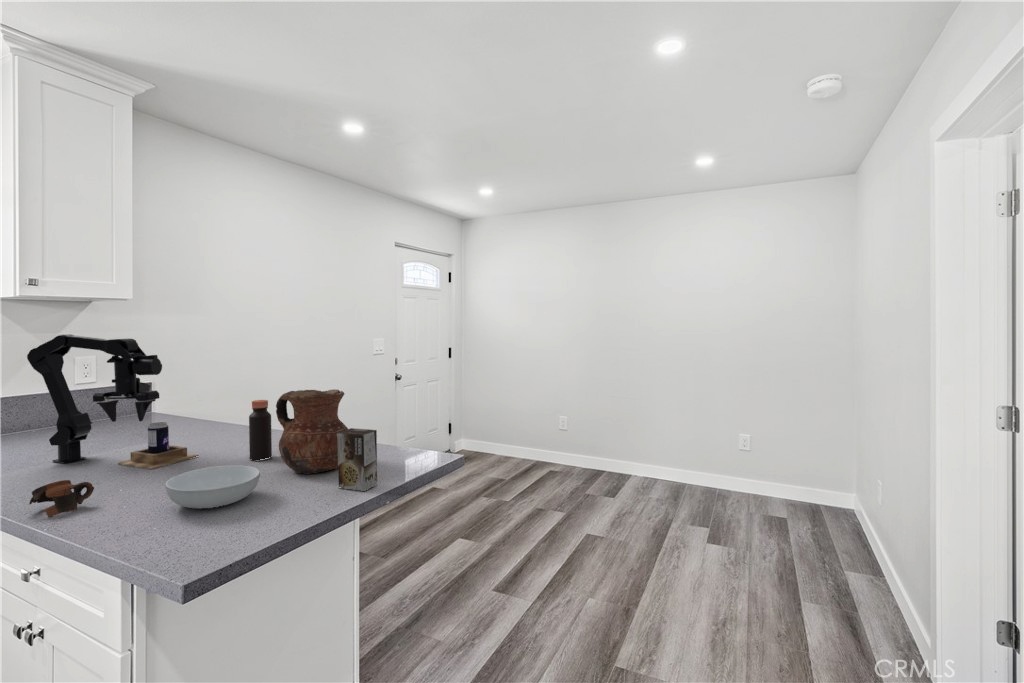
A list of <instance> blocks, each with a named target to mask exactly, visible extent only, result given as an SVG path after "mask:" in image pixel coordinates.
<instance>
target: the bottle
mask: <svg viewBox="0 0 1024 683" xmlns="http://www.w3.org/2000/svg"><path fill="white" fill-rule="evenodd" d="M268 407H269V400H268V399H257V400H256V399H255V400H251V410H252V412H251V413H250V414H249V416H248V428H249V429H248V433H249V437H248V439H249V442H248V444H249V460H250V459H252V460H260V459H265V458H269V457H271V456H272V454H273V451H272V450H273V449H272V448H273V447H272V446H273V445H272V443H273V442H272V413H270V411H268ZM272 457H273V456H272ZM272 457H271V458H272ZM252 460H251V461H252Z"/></svg>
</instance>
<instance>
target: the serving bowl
mask: <svg viewBox="0 0 1024 683" xmlns="http://www.w3.org/2000/svg"><path fill="white" fill-rule="evenodd" d="M260 476H261V471H260V470H259V469H258V468H256V467H253V466H251V465H249V466H248V465H238V464H237V465H235V464H234V465H218V466H217V465H216V466H209V467H202V468H198V469H194V470H190V471H186V472H182V473H181V474H180V473H179V474H178V475H174V476H173V477H171V478H169V479H168V480H167V481H166V482H165V484H164V486H165V490H166V494H167V496H168V497H169V499H170V501H172V502H174V504H176V505H178V506H180V507H183V508H189V509H202V508H208V509H214V508H213V507H216V508H219V506H221V507H223V505H224V506H227V505H230V504H233V503H236V502H238V501H241V500H242V499H244V498H246V497H247V496H249V495H250V494H252V493H253V491H254V490H255V489H256V487H257V485H258V484H259V481H260Z"/></svg>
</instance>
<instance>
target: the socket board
mask: <svg viewBox="0 0 1024 683" xmlns="http://www.w3.org/2000/svg"><path fill="white" fill-rule="evenodd" d="M196 456H199V457H200V455H199V454H194V453H188V447H186V446H178V445H171V444H169V451H166V452H162V453H158V454H150V453H148V448H145V449H140V450H136V451H132V452H130V459H127V460H123V461H119V462H117V465H119V464H123V465H122V466H125V465H129V466H128V467H132V466H135V467H134V468H138V467H141V468H140V469H144V468H148V469H147V470H150V469H151V470H153V469H152V468H155V469H157V468H156V467H159V468H161V467H160V466H162V467H165V466H164V465H166V466H169V465H168V464H170V465H173V464H172V463H174V464H176V463H175V462H177V463H180V461H181V462H184V461H183V460H185V461H188V460H187V459H189V460H191V459H190V458H192V459H194V458H193V457H196ZM196 458H197V457H196Z"/></svg>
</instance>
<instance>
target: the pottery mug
mask: <svg viewBox="0 0 1024 683" xmlns="http://www.w3.org/2000/svg"><path fill="white" fill-rule="evenodd" d="M85 488H86V491H85V492H84V494H82V491H83V489H85ZM94 489H95V487H94V485H93V483H91V482H89V481H83V482H80V483H77V484H72V481H71V480H69V479H64V480H58V481H55V482H51V483H48V484H45V485H42V486H39V487H37V488H35V489H34V490H32V491H31V495H32V497H31V498H30V500H29V503H28V504H29V505H32V504H33V503H34V504H35V503H37V504H41V503H46V502H47V503H48V502H51V503H52V502H53V503H54V504H53V505H50V506H49V507H46V508H45V510H44V511H45V513H46V516H47V517H48V518H50V516H51V517H53V516H56V515H59V514H62V513H68V512H73V511H77V510H78V505H82V504H83V502H84V501H85V500H87V499H88V498H90V496H91V495H93V492H94ZM72 490H73V491H72Z"/></svg>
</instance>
